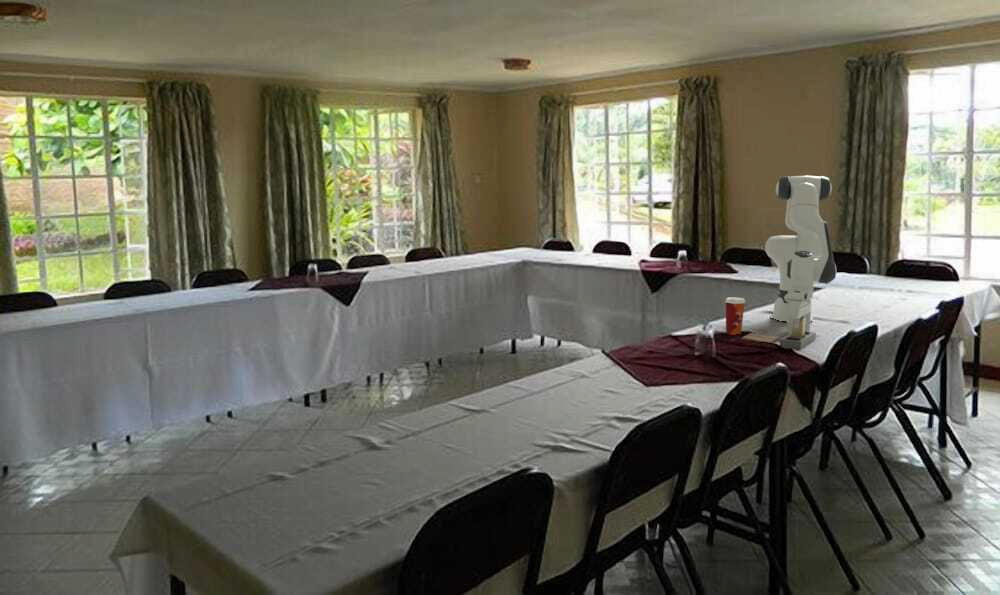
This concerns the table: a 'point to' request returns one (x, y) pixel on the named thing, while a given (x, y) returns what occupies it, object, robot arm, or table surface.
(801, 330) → the peg
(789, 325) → the small box
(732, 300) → the coffee cup
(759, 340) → the pad
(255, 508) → the table surface
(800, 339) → the grey slotted block
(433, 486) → the table surface
